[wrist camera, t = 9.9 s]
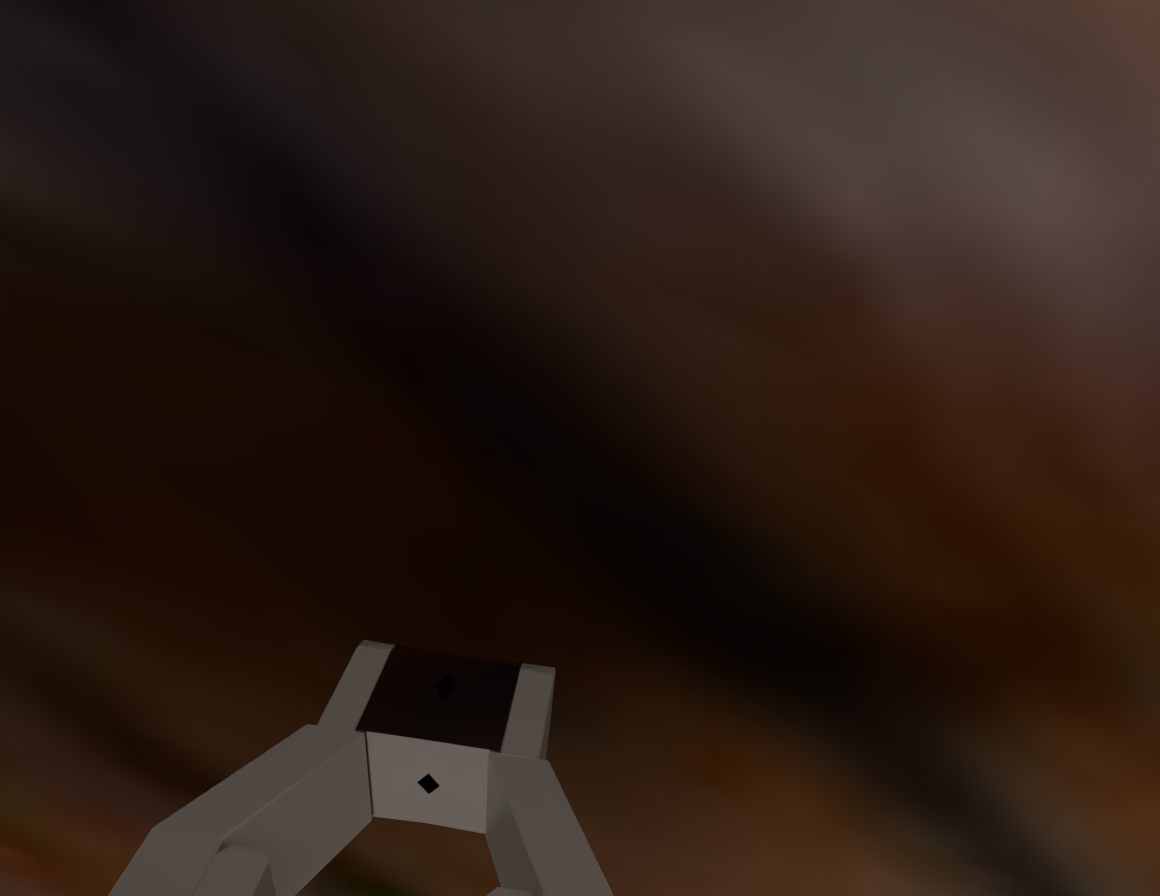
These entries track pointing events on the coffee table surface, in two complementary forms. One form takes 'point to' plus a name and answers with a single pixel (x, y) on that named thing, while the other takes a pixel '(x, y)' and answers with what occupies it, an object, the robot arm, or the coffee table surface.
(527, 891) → the robot arm
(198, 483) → the coffee table surface
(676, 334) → the coffee table surface
